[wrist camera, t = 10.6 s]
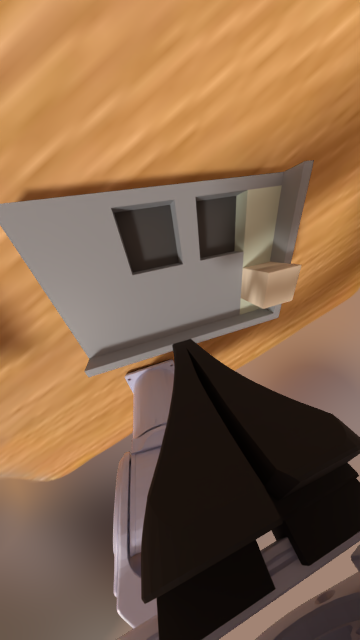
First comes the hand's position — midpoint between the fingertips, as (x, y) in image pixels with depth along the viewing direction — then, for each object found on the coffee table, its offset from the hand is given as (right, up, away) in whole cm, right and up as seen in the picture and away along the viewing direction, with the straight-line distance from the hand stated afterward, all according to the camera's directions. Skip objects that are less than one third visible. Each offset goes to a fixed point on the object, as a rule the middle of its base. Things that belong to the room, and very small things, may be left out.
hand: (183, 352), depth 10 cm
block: (+10, +7, +9) cm, 15 cm away
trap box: (-1, +8, +8) cm, 11 cm away
